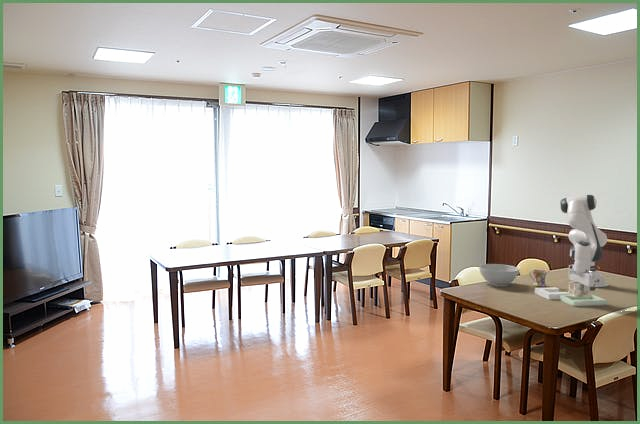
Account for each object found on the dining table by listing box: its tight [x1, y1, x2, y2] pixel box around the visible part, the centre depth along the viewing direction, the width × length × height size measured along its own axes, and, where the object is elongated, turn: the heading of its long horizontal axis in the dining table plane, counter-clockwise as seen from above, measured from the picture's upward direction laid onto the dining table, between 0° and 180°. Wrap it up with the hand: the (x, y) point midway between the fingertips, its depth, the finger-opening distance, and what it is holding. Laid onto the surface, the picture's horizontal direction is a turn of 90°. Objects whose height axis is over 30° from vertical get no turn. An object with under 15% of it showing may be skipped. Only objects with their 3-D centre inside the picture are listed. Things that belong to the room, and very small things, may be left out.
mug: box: [529, 269, 548, 288], centre depth 359 cm, size 12×9×11 cm
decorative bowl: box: [478, 263, 520, 288], centre depth 361 cm, size 27×27×12 cm
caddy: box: [567, 281, 596, 297], centre depth 316 cm, size 15×6×8 cm, turn 98°
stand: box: [534, 286, 568, 301], centre depth 332 cm, size 15×16×4 cm
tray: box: [559, 294, 608, 307], centre depth 317 cm, size 22×14×3 cm, turn 98°
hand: (580, 290), depth 316 cm, fingers closed on caddy, 6 cm apart
